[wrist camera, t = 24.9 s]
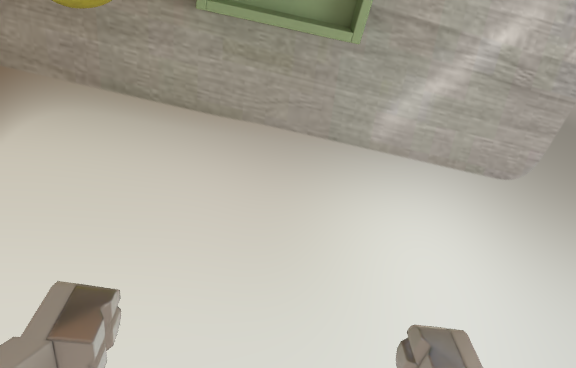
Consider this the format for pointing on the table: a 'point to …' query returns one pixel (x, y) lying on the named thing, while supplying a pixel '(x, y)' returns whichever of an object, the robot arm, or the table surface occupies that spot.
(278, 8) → the tray
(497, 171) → the table surface
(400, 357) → the robot arm
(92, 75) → the table surface
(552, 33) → the table surface
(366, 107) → the table surface
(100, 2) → the apple
